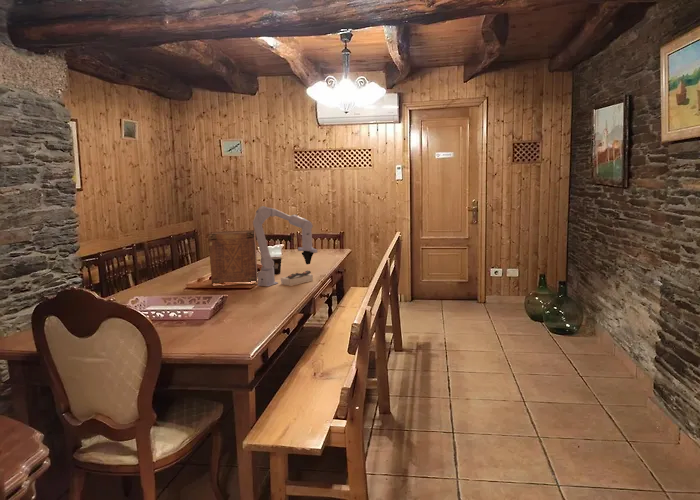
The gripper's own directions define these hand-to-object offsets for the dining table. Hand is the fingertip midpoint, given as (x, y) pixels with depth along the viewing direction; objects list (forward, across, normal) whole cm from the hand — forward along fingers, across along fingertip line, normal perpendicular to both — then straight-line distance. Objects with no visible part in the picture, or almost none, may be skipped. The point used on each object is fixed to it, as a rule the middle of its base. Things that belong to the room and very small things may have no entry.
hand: (308, 264), depth 298 cm
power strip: (+10, +2, +8) cm, 12 cm away
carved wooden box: (+10, +29, +31) cm, 44 cm away
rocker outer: (+6, 0, +2) cm, 6 cm away
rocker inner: (+6, 0, +12) cm, 14 cm away
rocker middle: (+6, 0, +7) cm, 9 cm away
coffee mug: (+10, +34, 0) cm, 35 cm away
